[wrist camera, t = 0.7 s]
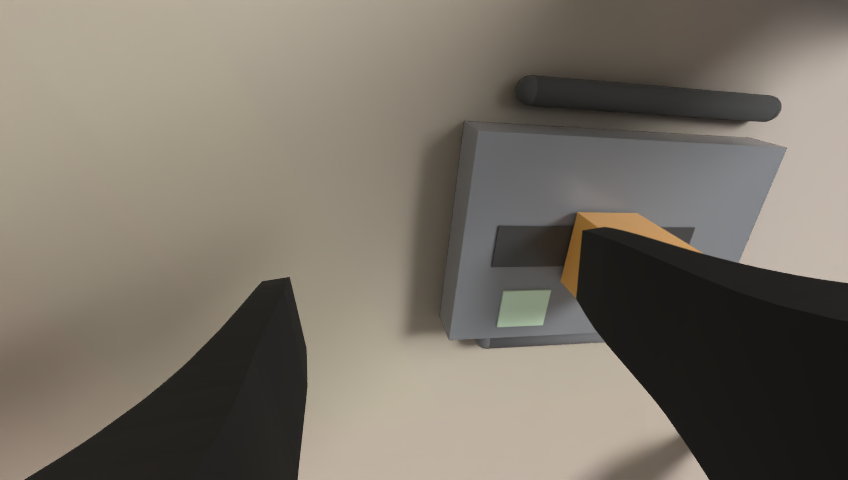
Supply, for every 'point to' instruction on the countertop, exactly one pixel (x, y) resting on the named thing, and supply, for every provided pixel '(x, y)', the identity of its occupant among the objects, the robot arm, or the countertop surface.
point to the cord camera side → (539, 340)
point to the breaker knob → (611, 220)
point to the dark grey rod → (645, 99)
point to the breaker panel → (582, 192)
